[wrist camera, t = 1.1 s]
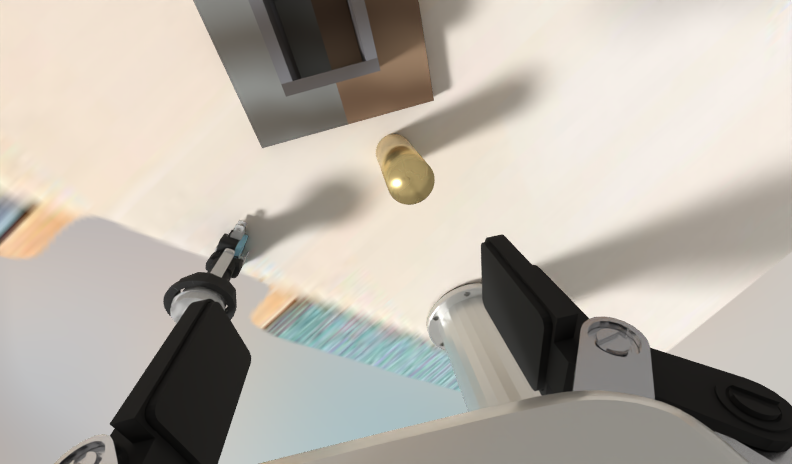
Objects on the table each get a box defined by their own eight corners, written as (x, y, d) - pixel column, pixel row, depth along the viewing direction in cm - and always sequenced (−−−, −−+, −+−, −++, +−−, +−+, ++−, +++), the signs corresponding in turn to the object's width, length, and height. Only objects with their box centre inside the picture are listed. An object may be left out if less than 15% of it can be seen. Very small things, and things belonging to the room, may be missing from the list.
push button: (218, 209, 30) (168, 266, 22) (271, 228, 32) (244, 288, 24) (201, 259, 33) (150, 329, 24) (252, 274, 35) (221, 344, 26)
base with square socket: (429, 98, 28) (450, 107, 23) (266, 144, 28) (246, 164, 22) (395, -110, 21) (414, -173, 16) (176, -52, 21) (115, -95, 15)
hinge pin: (414, 164, 31) (437, 197, 23) (381, 173, 31) (393, 209, 23) (407, 129, 29) (430, 153, 22) (371, 139, 29) (382, 166, 22)
